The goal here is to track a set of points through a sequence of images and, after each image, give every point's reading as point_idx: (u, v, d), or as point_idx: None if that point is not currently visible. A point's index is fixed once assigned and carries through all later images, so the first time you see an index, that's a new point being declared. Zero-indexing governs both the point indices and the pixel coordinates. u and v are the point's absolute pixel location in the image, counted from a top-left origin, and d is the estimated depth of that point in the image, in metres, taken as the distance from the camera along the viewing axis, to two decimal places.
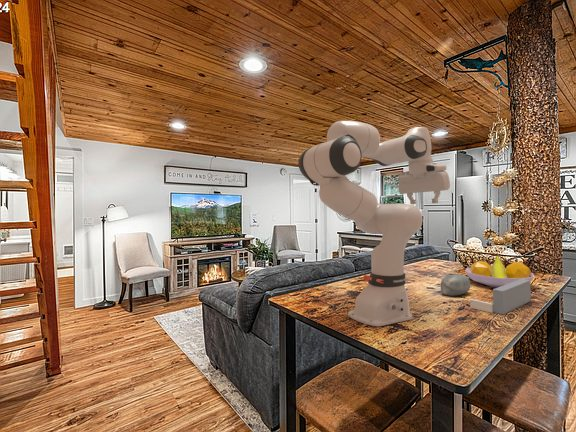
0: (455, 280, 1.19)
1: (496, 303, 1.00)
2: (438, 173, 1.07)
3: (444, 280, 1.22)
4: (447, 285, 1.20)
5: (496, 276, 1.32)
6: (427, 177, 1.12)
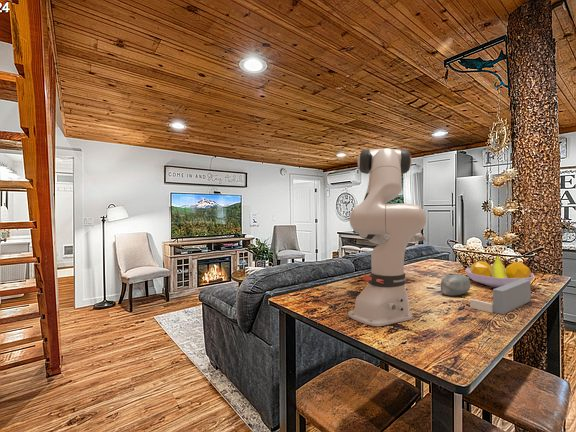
0: (455, 280, 1.19)
1: (496, 303, 1.00)
2: None
3: (444, 280, 1.22)
4: (447, 285, 1.20)
5: (496, 276, 1.32)
6: None
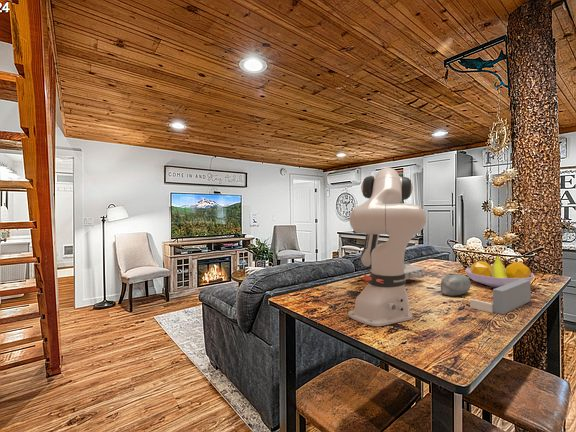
0: (455, 280, 1.19)
1: (496, 303, 1.00)
2: (412, 265, 1.50)
3: (444, 280, 1.22)
4: (447, 285, 1.20)
5: (496, 276, 1.32)
6: (407, 268, 1.47)
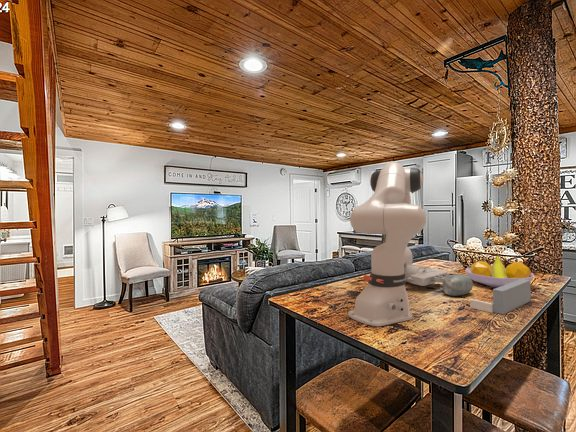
0: (457, 280, 1.19)
1: (496, 303, 1.00)
2: None
3: (446, 280, 1.21)
4: (449, 285, 1.19)
5: (496, 276, 1.32)
6: (429, 271, 1.37)
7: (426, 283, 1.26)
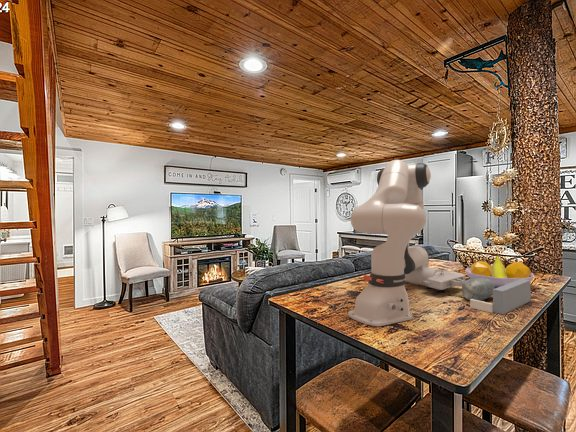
0: (478, 284, 1.12)
1: (496, 303, 1.00)
2: (449, 271, 1.34)
3: (466, 284, 1.14)
4: (469, 289, 1.12)
5: (496, 276, 1.32)
6: (446, 274, 1.30)
7: (445, 287, 1.20)
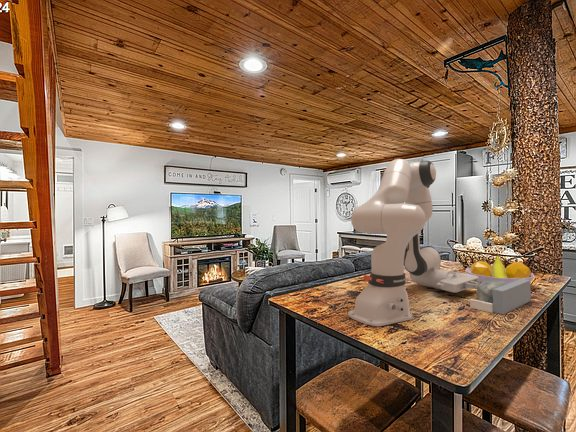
0: (494, 287, 1.07)
1: (496, 303, 1.00)
2: (462, 273, 1.29)
3: (481, 287, 1.09)
4: (485, 293, 1.07)
5: (496, 276, 1.32)
6: (459, 276, 1.26)
7: (458, 290, 1.15)
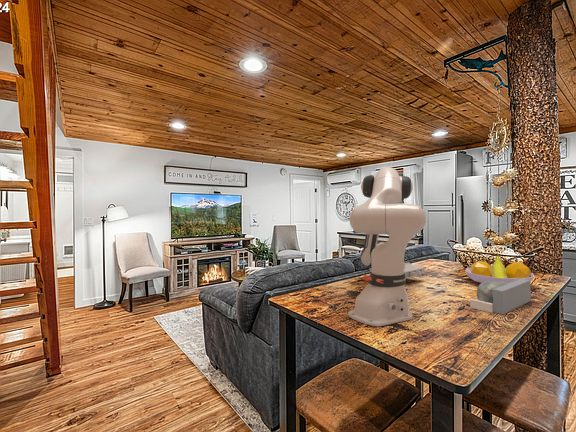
0: (494, 287, 1.07)
1: (496, 303, 1.00)
2: (411, 264, 1.50)
3: (481, 287, 1.09)
4: (485, 293, 1.07)
5: (496, 276, 1.32)
6: (407, 267, 1.46)
7: None
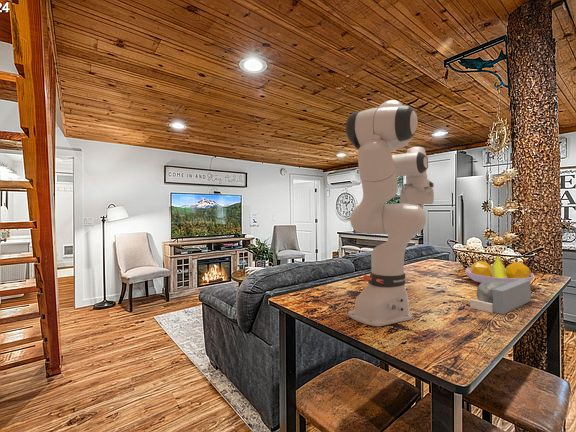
0: (494, 287, 1.07)
1: (496, 303, 1.00)
2: (432, 189, 1.33)
3: (481, 287, 1.09)
4: (485, 293, 1.07)
5: (496, 276, 1.32)
6: (425, 191, 1.31)
7: None
